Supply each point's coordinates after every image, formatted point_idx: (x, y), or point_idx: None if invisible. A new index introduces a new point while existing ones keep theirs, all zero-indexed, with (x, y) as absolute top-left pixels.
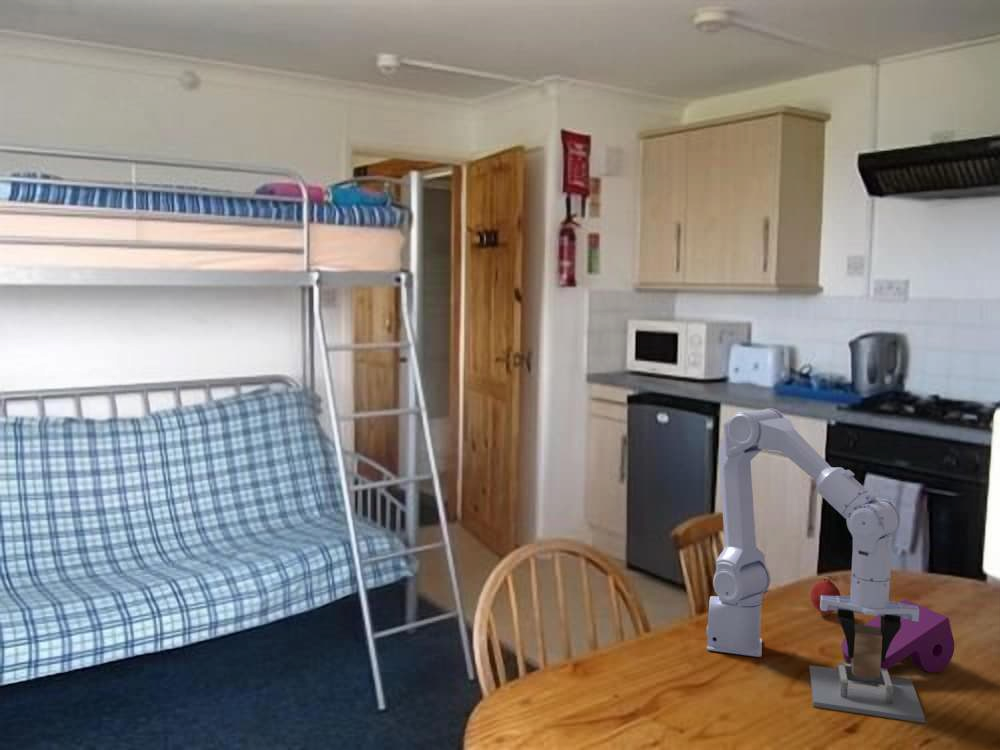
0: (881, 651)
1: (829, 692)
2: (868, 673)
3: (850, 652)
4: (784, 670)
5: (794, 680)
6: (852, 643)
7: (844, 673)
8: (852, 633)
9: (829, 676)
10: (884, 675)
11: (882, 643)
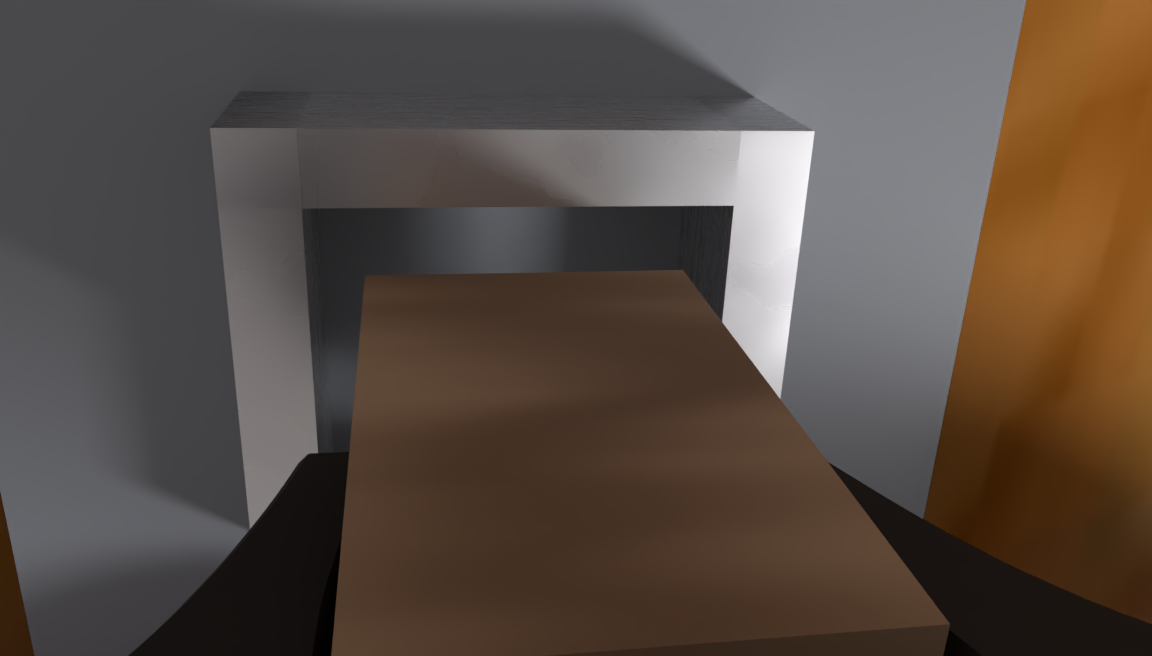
0: (349, 458)
1: (841, 163)
2: (510, 288)
3: None
4: (1079, 537)
5: (1047, 388)
6: None
7: None
8: (978, 623)
9: None
10: None
11: (325, 611)
